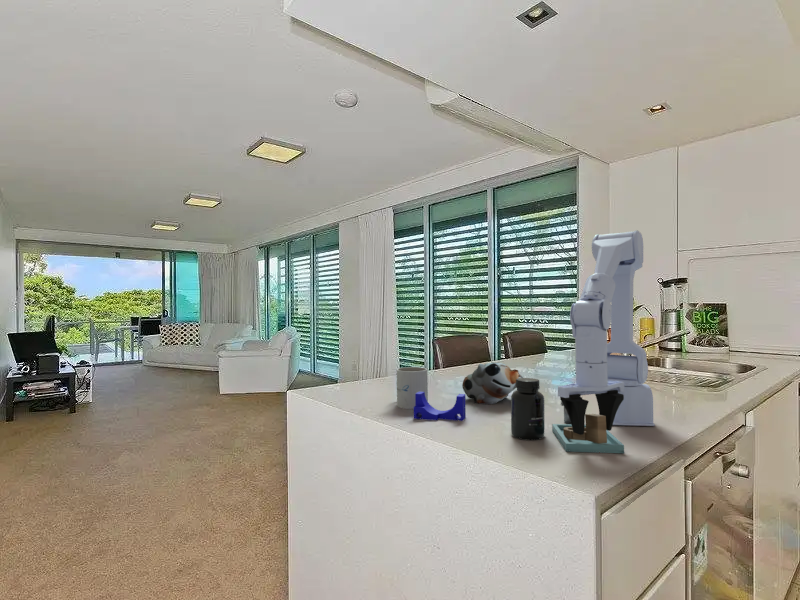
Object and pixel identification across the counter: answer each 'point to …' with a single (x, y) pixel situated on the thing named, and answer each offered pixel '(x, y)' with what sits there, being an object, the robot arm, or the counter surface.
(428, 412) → the blue curved cradle
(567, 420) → the grey cylinder and bar
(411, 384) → the mug
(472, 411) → the counter surface
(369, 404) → the counter surface
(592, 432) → the ring
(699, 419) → the counter surface
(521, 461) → the counter surface
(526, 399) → the supplement bottle
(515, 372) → the lucky cat figurine
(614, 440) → the tray
